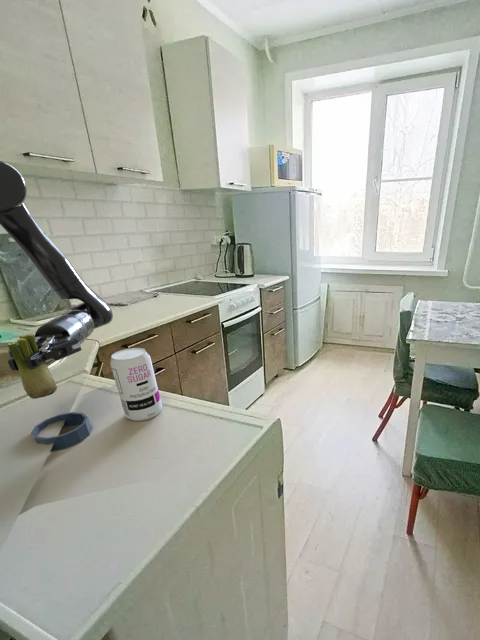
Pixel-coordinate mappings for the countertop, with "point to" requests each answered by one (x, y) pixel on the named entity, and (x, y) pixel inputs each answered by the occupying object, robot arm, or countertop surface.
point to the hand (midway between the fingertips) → (21, 365)
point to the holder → (67, 438)
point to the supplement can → (136, 383)
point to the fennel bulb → (32, 379)
